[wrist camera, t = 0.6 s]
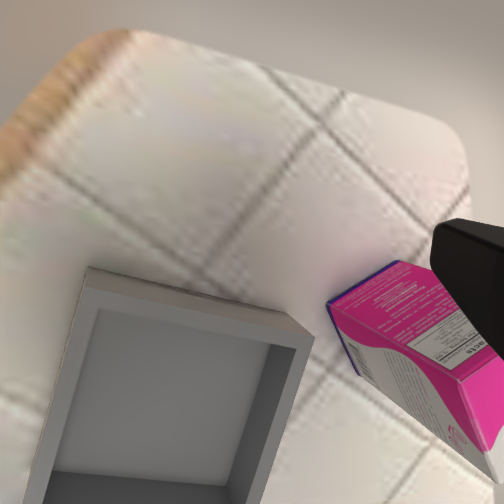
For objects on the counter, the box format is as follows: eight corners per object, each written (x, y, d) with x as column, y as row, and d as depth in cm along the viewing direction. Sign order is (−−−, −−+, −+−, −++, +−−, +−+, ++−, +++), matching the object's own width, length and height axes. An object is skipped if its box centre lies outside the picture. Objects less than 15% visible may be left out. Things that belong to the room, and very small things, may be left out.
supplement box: (428, 328, 31) (597, 417, 20) (356, 375, 30) (494, 494, 19) (400, 254, 29) (568, 308, 19) (322, 301, 28) (453, 388, 18)
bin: (229, 488, 29) (248, 537, 25) (30, 470, 25) (17, 525, 21) (286, 313, 28) (315, 337, 24) (87, 266, 24) (84, 286, 20)
